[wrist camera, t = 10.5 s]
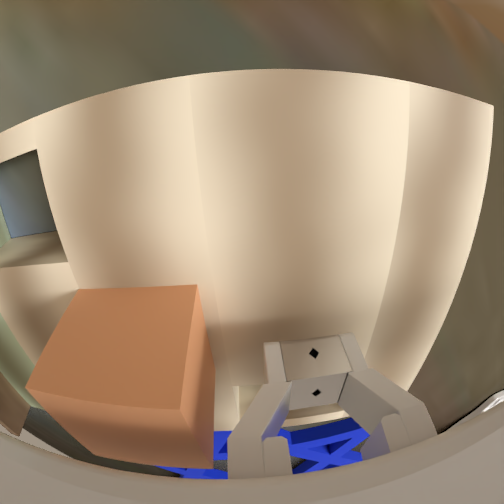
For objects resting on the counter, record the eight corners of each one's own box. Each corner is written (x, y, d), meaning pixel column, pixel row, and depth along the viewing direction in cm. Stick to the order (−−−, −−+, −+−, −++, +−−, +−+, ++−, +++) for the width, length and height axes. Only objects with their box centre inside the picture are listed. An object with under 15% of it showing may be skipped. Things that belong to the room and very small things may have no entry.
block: (197, 284, 9) (179, 409, 5) (215, 370, 11) (213, 469, 7) (78, 289, 9) (25, 387, 5) (118, 368, 11) (95, 455, 7)
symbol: (406, 372, 16) (364, 474, 31) (397, 353, 17) (362, 465, 32) (69, 414, 17) (197, 497, 32) (74, 398, 19) (197, 488, 34)
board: (445, 97, 9) (556, 124, 4) (384, 369, 17) (414, 441, 12) (-61, 175, 8) (-125, 219, 3) (34, 375, 17) (11, 433, 12)
